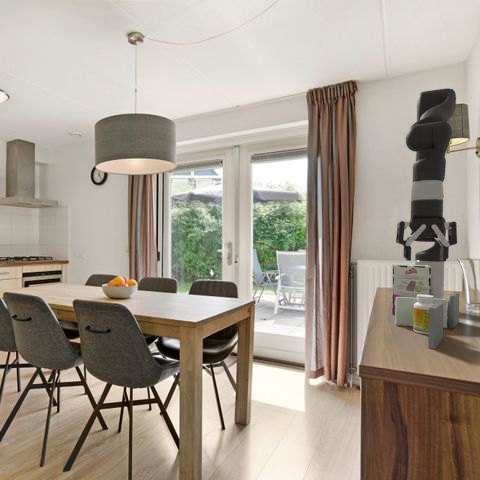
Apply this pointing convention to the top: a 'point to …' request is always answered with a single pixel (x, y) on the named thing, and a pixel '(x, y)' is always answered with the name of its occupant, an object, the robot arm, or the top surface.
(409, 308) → the door
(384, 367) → the top surface
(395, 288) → the candy bar box
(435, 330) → the door frame
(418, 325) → the supplement bottle
